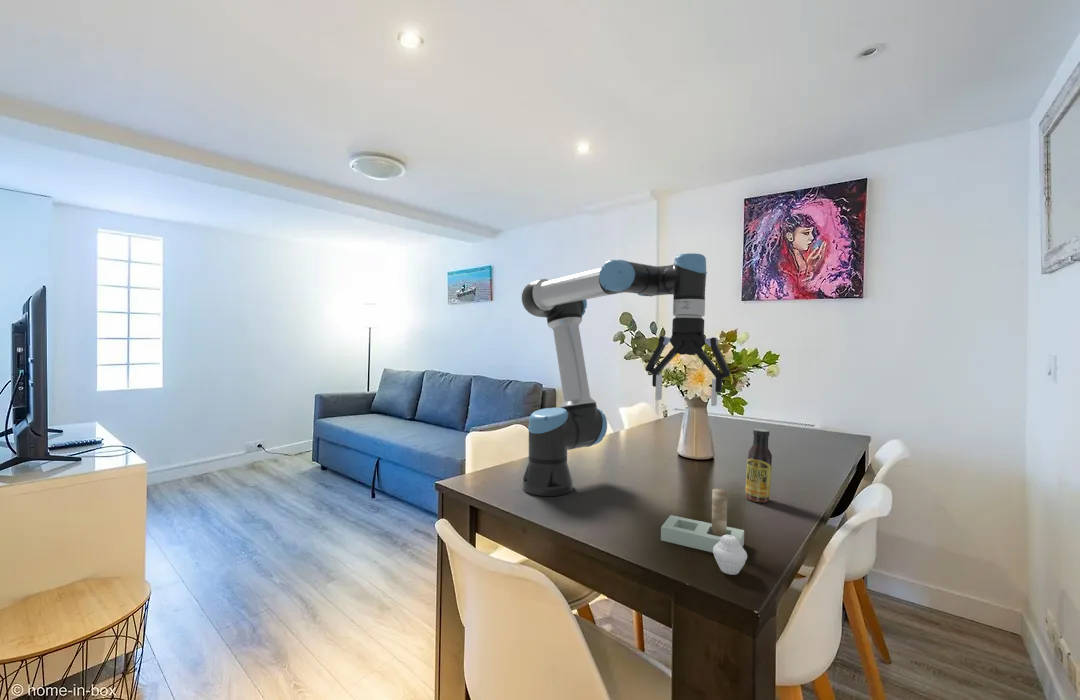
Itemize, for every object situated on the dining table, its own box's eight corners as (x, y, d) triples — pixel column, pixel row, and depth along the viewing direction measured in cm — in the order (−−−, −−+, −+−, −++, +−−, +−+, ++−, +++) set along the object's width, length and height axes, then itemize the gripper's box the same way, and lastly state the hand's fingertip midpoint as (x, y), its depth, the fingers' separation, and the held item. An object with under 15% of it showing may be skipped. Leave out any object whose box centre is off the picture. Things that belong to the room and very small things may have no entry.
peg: (710, 546, 96) (711, 491, 96) (712, 541, 99) (713, 487, 99) (725, 550, 95) (726, 494, 95) (727, 544, 97) (728, 490, 97)
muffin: (740, 582, 82) (741, 545, 82) (707, 571, 86) (708, 535, 86) (751, 570, 87) (751, 534, 87) (719, 559, 91) (719, 525, 91)
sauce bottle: (742, 499, 125) (743, 429, 125) (749, 494, 130) (750, 426, 130) (767, 505, 121) (768, 432, 120) (774, 499, 125) (775, 429, 125)
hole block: (660, 540, 99) (661, 526, 99) (670, 527, 106) (670, 515, 106) (738, 558, 91) (739, 544, 91) (743, 543, 98) (744, 530, 98)
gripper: (634, 316, 114) (632, 399, 115) (740, 316, 101) (736, 410, 102) (644, 317, 121) (642, 396, 122) (745, 318, 107) (741, 405, 108)
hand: (685, 402), depth 112 cm, fingers open, 13 cm apart
